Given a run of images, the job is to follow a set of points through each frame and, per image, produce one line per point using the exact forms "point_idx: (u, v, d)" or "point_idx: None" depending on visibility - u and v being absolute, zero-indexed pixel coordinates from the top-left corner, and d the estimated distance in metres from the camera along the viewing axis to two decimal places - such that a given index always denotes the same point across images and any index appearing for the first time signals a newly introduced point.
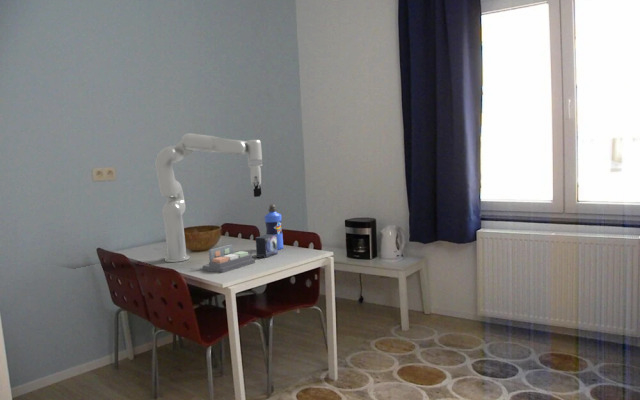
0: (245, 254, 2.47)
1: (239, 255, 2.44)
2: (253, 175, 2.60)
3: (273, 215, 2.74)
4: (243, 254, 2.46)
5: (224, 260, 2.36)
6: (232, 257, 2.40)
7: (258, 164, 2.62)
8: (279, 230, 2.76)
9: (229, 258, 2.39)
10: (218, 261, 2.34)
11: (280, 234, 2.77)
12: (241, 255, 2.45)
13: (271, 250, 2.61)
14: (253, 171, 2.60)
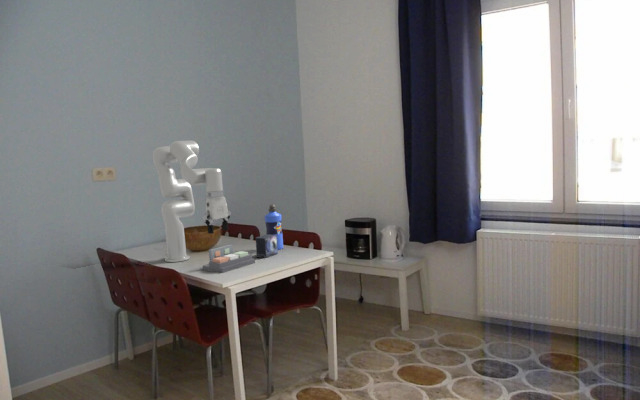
0: (245, 254, 2.47)
1: (239, 255, 2.44)
2: None
3: (273, 215, 2.74)
4: (243, 254, 2.46)
5: (224, 260, 2.36)
6: (232, 257, 2.40)
7: None
8: (279, 230, 2.76)
9: (229, 258, 2.39)
10: (218, 261, 2.34)
11: (280, 234, 2.77)
12: (241, 255, 2.45)
13: (271, 250, 2.61)
14: None
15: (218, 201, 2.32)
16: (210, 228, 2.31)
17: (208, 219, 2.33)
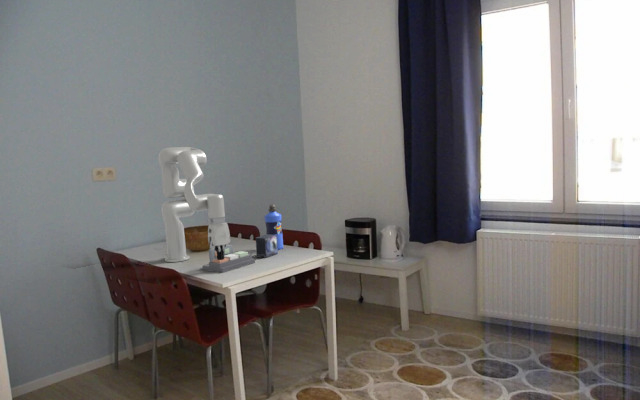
0: (245, 254, 2.47)
1: (239, 255, 2.44)
2: None
3: (273, 215, 2.74)
4: (243, 254, 2.46)
5: (224, 261, 2.36)
6: (232, 257, 2.40)
7: None
8: (279, 230, 2.76)
9: (229, 258, 2.39)
10: (218, 262, 2.35)
11: (280, 234, 2.77)
12: (241, 255, 2.45)
13: (271, 250, 2.61)
14: None
15: (220, 227, 2.33)
16: (219, 254, 2.36)
17: None
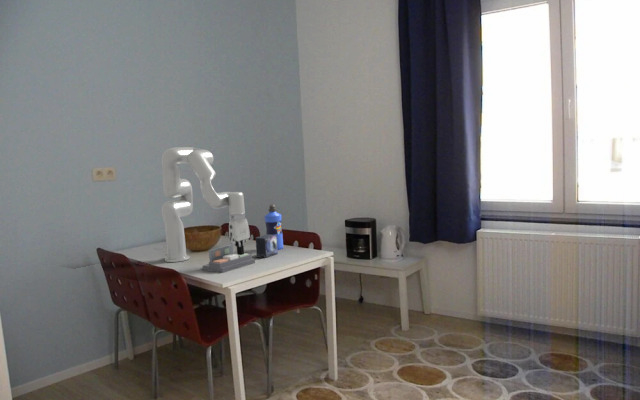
0: None
1: None
2: None
3: (273, 215, 2.74)
4: None
5: None
6: (232, 257, 2.40)
7: None
8: (279, 230, 2.76)
9: (229, 258, 2.39)
10: None
11: (280, 234, 2.77)
12: None
13: (271, 250, 2.61)
14: None
15: (240, 223, 2.44)
16: (239, 250, 2.46)
17: None
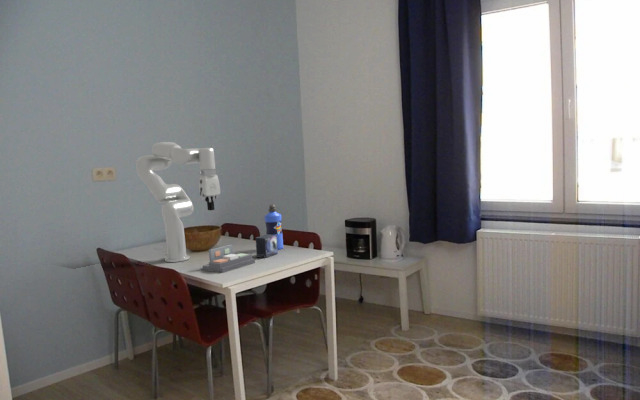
0: None
1: None
2: None
3: (273, 215, 2.74)
4: None
5: None
6: (232, 257, 2.40)
7: None
8: (279, 230, 2.76)
9: (229, 258, 2.39)
10: None
11: (280, 234, 2.77)
12: None
13: (271, 250, 2.61)
14: None
15: (210, 178, 2.45)
16: (210, 205, 2.48)
17: None
